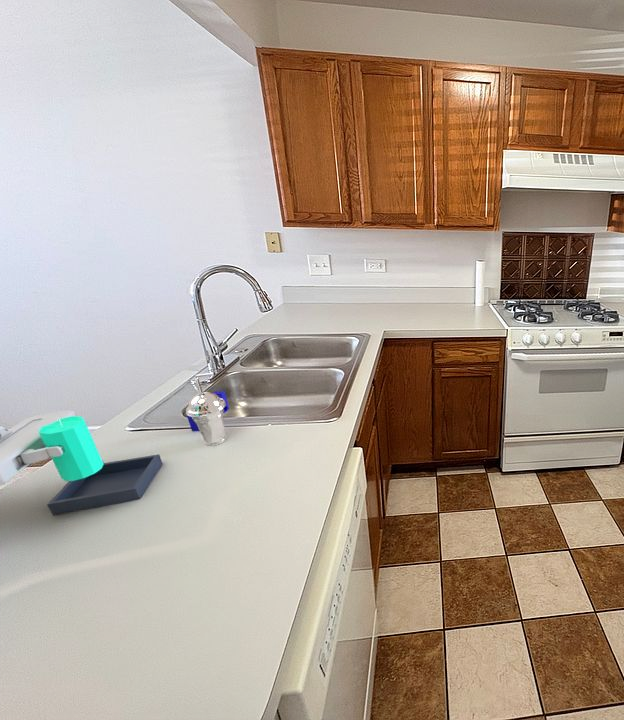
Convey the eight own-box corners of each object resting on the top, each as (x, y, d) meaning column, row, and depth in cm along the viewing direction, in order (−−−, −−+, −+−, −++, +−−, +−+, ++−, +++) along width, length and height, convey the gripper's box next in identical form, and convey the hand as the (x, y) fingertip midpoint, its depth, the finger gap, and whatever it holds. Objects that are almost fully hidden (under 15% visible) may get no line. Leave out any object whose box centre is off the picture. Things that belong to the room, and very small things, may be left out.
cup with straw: (225, 428, 109) (206, 361, 101) (242, 439, 104) (223, 369, 96) (191, 443, 102) (167, 372, 95) (206, 455, 97) (183, 382, 90)
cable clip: (214, 409, 119) (209, 391, 116) (229, 409, 119) (224, 391, 116) (186, 431, 108) (180, 411, 105) (202, 431, 107) (196, 412, 105)
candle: (102, 457, 80) (79, 405, 76) (104, 471, 77) (81, 417, 72) (61, 470, 77) (34, 417, 72) (61, 485, 73) (33, 430, 68)
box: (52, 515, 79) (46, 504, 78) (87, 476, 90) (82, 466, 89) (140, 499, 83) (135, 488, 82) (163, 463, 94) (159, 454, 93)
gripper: (33, 434, 81) (112, 425, 85) (-65, 503, 63) (40, 489, 66) (20, 407, 79) (102, 399, 82) (-87, 471, 61) (24, 458, 64)
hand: (74, 440), depth 74 cm, fingers closed on candle, 5 cm apart
